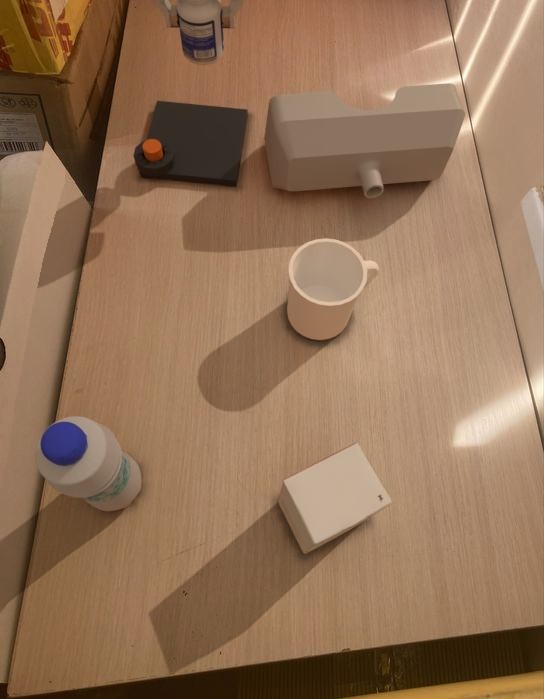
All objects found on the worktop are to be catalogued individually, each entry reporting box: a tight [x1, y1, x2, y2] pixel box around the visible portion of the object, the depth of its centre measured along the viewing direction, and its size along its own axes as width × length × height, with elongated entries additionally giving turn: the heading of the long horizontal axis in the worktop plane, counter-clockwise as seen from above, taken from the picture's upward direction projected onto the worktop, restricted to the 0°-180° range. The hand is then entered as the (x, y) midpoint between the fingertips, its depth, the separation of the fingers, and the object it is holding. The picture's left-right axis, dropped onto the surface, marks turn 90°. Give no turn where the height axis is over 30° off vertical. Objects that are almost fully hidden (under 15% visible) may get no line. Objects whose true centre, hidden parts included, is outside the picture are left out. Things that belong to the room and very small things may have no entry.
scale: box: [132, 100, 249, 188], centre depth 79 cm, size 15×15×3 cm
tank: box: [264, 82, 466, 199], centre depth 74 cm, size 25×16×12 cm, turn 97°
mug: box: [286, 237, 380, 342], centre depth 65 cm, size 11×9×10 cm
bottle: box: [34, 415, 142, 512], centre depth 51 cm, size 7×7×20 cm
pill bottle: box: [176, 0, 225, 66], centre depth 64 cm, size 5×5×9 cm
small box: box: [277, 442, 393, 555], centre depth 54 cm, size 8×6×13 cm
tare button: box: [142, 139, 163, 162], centre depth 76 cm, size 3×3×2 cm
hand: (200, 25), depth 65 cm, fingers closed on pill bottle, 5 cm apart
